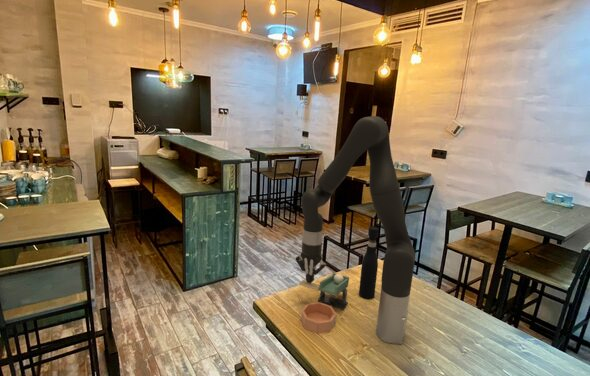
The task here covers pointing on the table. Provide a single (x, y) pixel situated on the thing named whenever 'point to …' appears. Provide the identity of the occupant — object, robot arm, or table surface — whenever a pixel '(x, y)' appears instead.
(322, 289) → the chute
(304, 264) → the robot arm
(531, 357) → the table surface
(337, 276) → the ball
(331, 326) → the pink octagonal bowl
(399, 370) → the table surface
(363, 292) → the wine bottle
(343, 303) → the chute stand
